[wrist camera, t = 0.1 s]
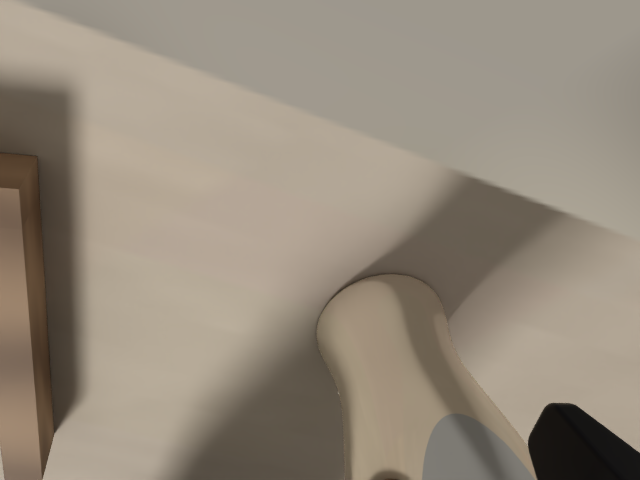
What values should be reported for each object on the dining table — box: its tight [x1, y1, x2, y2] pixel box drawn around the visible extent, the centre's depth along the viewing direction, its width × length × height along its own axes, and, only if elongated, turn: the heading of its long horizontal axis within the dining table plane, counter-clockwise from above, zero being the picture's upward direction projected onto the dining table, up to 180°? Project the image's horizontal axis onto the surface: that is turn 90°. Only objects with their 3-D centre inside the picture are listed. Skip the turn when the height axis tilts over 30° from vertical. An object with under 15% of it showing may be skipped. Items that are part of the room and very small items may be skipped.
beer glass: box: [316, 274, 537, 480], centre depth 22 cm, size 7×7×15 cm
